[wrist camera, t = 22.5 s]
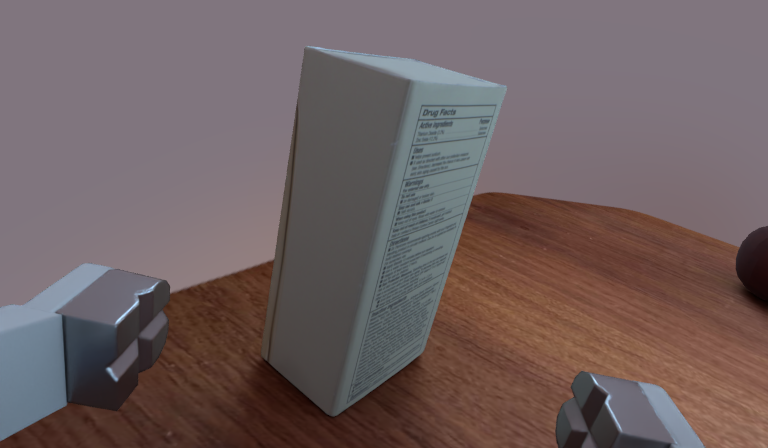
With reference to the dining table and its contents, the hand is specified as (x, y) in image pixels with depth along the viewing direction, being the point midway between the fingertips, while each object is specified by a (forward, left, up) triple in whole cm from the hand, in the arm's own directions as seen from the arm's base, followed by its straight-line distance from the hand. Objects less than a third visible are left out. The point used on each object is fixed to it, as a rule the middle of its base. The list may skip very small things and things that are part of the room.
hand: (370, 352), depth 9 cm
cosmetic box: (+8, +2, -7) cm, 11 cm away
